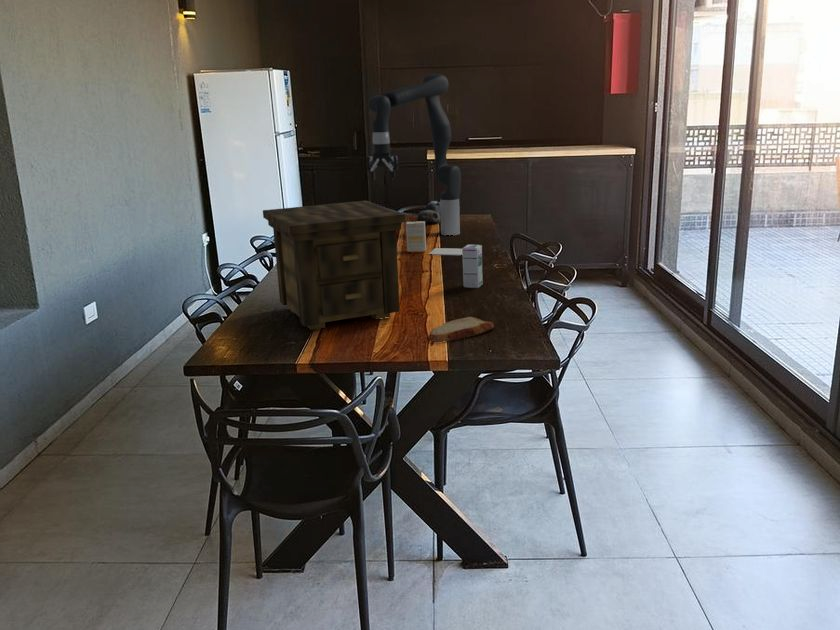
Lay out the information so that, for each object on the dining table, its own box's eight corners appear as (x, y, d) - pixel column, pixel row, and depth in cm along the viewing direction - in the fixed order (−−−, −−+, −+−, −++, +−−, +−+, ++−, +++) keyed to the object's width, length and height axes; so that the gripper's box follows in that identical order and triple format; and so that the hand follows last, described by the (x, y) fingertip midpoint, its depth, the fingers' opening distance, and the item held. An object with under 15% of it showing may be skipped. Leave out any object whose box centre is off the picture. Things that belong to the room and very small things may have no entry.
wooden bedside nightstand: (371, 293, 256) (365, 200, 247) (409, 319, 226) (405, 214, 216) (272, 308, 243) (262, 210, 234) (299, 337, 213) (289, 226, 203)
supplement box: (426, 250, 324) (425, 220, 320) (425, 252, 319) (424, 222, 315) (408, 250, 325) (406, 221, 321) (406, 252, 320) (405, 223, 316)
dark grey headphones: (412, 222, 395) (419, 198, 396) (433, 229, 398) (439, 205, 400) (421, 218, 381) (428, 193, 382) (442, 225, 384) (449, 200, 386)
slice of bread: (426, 344, 204) (426, 331, 203) (435, 324, 221) (435, 312, 220) (490, 345, 201) (490, 332, 200) (494, 325, 218) (494, 313, 217)
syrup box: (478, 288, 258) (478, 247, 254) (462, 287, 260) (461, 247, 256) (483, 284, 264) (482, 244, 259) (467, 283, 266) (466, 244, 261)
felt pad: (435, 249, 326) (435, 248, 326) (475, 249, 321) (475, 248, 321) (428, 254, 315) (428, 253, 315) (469, 255, 310) (469, 254, 310)
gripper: (399, 141, 324) (400, 178, 329) (368, 142, 328) (370, 178, 333) (394, 143, 318) (396, 180, 322) (363, 143, 321) (365, 180, 326)
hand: (383, 179), depth 327 cm, fingers open, 8 cm apart
